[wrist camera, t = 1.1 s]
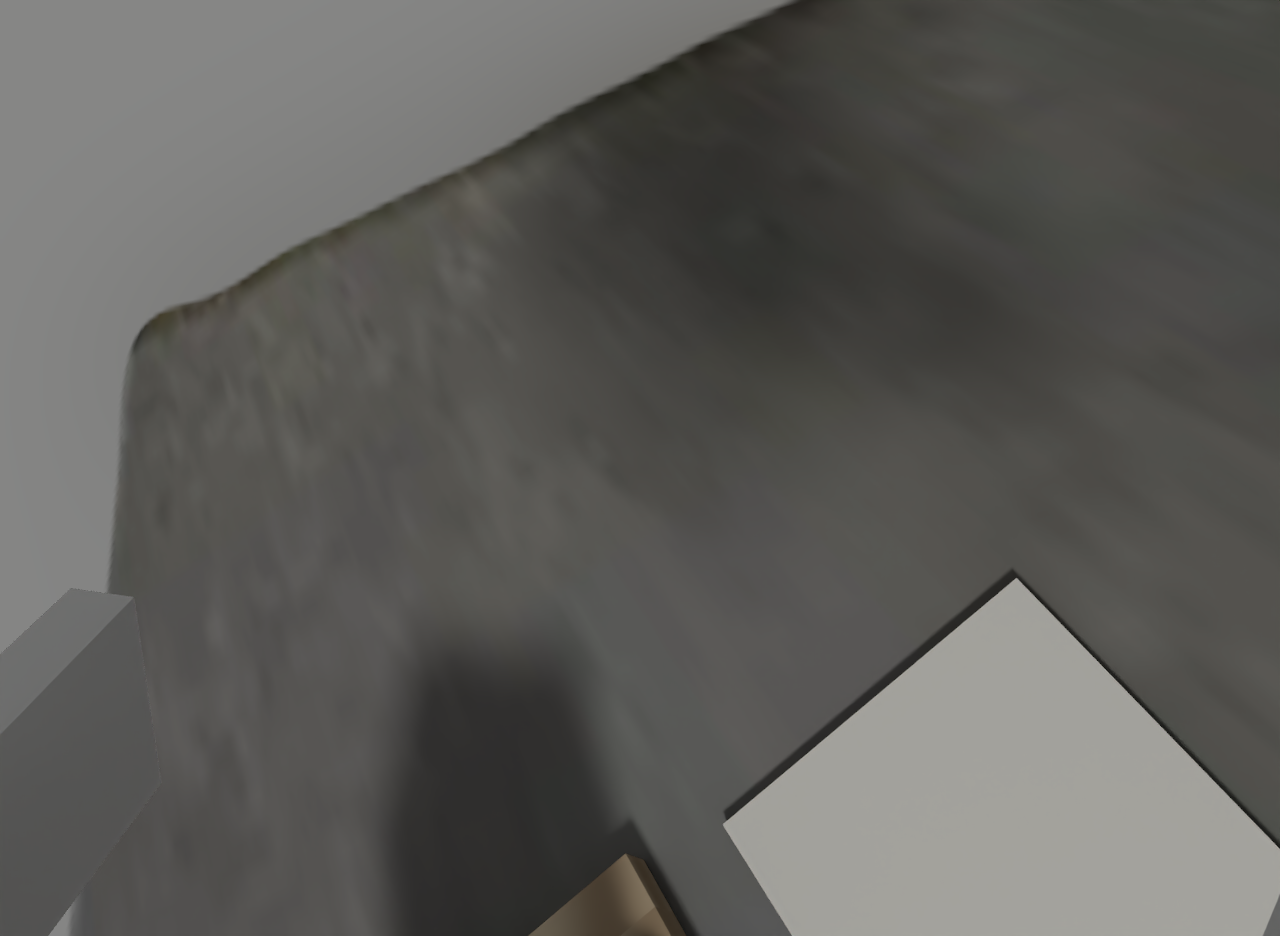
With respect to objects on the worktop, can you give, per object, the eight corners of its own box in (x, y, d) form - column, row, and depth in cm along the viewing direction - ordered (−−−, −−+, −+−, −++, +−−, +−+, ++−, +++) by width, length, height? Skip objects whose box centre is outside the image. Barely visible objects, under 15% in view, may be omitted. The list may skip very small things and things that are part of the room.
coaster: (1019, 582, 37) (1016, 578, 37) (1342, 915, 30) (1341, 913, 29) (727, 827, 38) (722, 824, 38) (965, 1205, 31) (961, 1206, 31)
